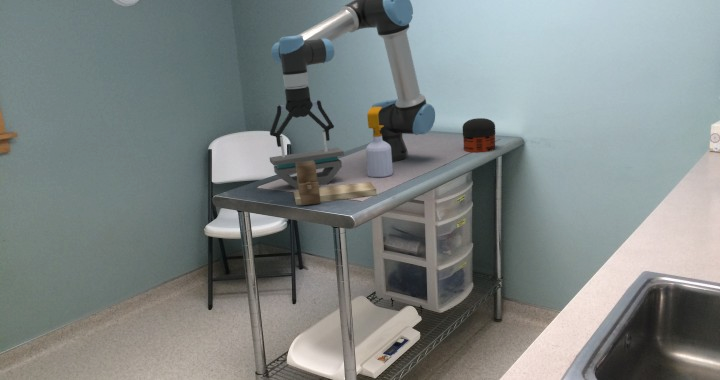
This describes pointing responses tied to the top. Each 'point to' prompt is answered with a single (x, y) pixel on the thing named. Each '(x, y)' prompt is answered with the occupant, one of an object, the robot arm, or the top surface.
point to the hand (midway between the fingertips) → (304, 153)
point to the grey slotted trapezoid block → (320, 158)
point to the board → (342, 192)
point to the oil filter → (479, 135)
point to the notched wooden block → (307, 182)
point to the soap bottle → (378, 148)
